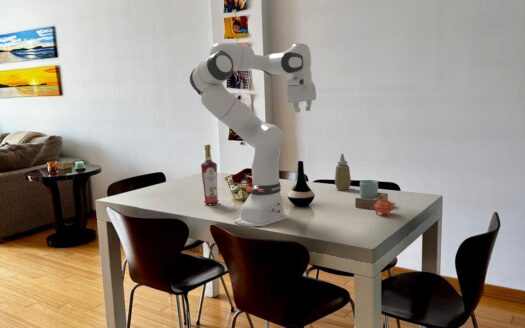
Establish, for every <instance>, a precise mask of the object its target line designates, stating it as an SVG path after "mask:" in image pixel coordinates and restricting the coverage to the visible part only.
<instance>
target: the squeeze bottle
mask: <svg viewBox="0 0 525 328" xmlns="http://www.w3.org/2000/svg"><path fill="white" fill-rule="evenodd" d="M351 183H352V178H351V173H350V165H348V161H347V160H346V159H345V154H344V153H341V154H340V157H339V160H338V161H337V165H336V166H335V175H334V184H335V187H336V189H337V191H349V190H350V187H351Z"/></svg>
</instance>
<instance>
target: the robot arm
mask: <svg viewBox="0 0 525 328" xmlns="http://www.w3.org/2000/svg"><path fill="white" fill-rule="evenodd" d="M311 66H312V56H311V49H310V47H309V46H308V45H307V44H306V43H305V44H304V43H294V44H292V45H291V46H290V48H288V49H286V50H285V51H282V52H270V53H267V54H264V55H260V54H255V52H254V50H253V48H252V46H249V45H247V44H243V43H239V42H238V43H237V42H217V43H215V44H213V45H212V46H211V48H210V51H209V57H207V58H205V59H204V60H203V61H201V62H200V63H199V64H198V65H196V67H195V68H194V69H192V71H191V73H190V75H189V83H190V85H191V87H192V88H193V90H195V91H196V93H197V94H198V95H199V96H201V98H200V101H201V104H202V105H203V106H204V108H206V109H207V111H209V113H210V114H212V115H213V116H214V117H215V118H217V120H219V121H220V122H222V124H224V125H226V126H227V127H228V128H230V129H231V130H232V131H233V132H234V133H235V134H237V135H238V136H239V137H240V138H241V139H242V140H243V141H244V142H246V143H247V144H248V145H250V146H251V148H254V155H253V161H252V163H251V177H252V178H251V179H252V183H251V186H246V188H245V190H246V192H248V193H250V195H248V197H247V198H246V200H245V201H244V203H243V204H242V206H241V208H240V217H237V218H236V219H235V220H234V223H235V222H236V223H235V224H237V225H240V226H246V227H255V226H261V227H264V226H265V227H266V226H269V225H272V224H274V223H277V222H280V221H283V220H286V219H288V216H287V214H286V213H285V212H286V211H285V205H284V198H283V196H282V195H281V189H282V186H281V182H280V171H279V169H280V167H279V165H280V163H279V162H280V155H281V151H282V147H283V145H284V143H285V133H284V132H283V131H282V129H281V128H279V126H277V125H275V124H272V123H266V121H265V122H264V121H263V120H262V119H260V118H259V117H258V115H257V114H256V113H254V112H253V110H252V109H251V108H250V107H249V106H248V105H246V104H245V103H244V102H243V101H241V100H240V99H239V98H238V97H236V96H235V95H234V94H232V93H231V92H230V91H228V90H227V89H226V87H225V86H224V84H223V83H225V81H226V80H228V79H229V78H230V77H231V76H232V75H233V72H234V71H237V72H245V71H250V70H251V69H253V70H259V71H262V72H264V73H265V74H266V75H268V76H272V77H273V76H278V75H291V77H290V78H289V79H287V80H286V81H285V84H286V86H287V87H286V97H287V98H286V100H287V102H288V103H289V104H292V105H293V108H294V112H295V113H296V114H297V113H300V112H301V108H300V107H299V105H300V103H302V102H306V106H305V111H306V112H309V111H311V108H312V107H311V106H312V104H313V103H312V102H313V101H316V99H317V91H316V85H315V84H314V81H313V80H312V70H311Z"/></svg>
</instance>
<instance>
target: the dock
mask: <svg viewBox="0 0 525 328" xmlns="http://www.w3.org/2000/svg"><path fill="white" fill-rule="evenodd" d="M388 197H389V195H388V193H387V192H379V191H378V196H377V197H375V198H373V199H365V198H361V197H355V198H354V199H355V200H354V201H355V202H354V204H355V208H358V209H366V210H367V209H368V210H375V208H374V205H375V204H376V203H377V202H378V201H379V200H383V199H386V200H389V198H388Z"/></svg>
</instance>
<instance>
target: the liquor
mask: <svg viewBox="0 0 525 328" xmlns="http://www.w3.org/2000/svg"><path fill="white" fill-rule="evenodd" d="M204 150H205V151H204V152H205V156H204V157H205V158H204V159H205V161H204V162H202V163H201V164H200V169H201V176H202V184H203V195H204V201H203V202H204V203H205V204H206V205H207V204H215V205H217V204H218V203H219V201H220V200H219V199H218V164H217V163H216V162H214V161H213V159H212V155H211V150H212V149H211V144H204ZM216 203H217V204H216Z"/></svg>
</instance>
